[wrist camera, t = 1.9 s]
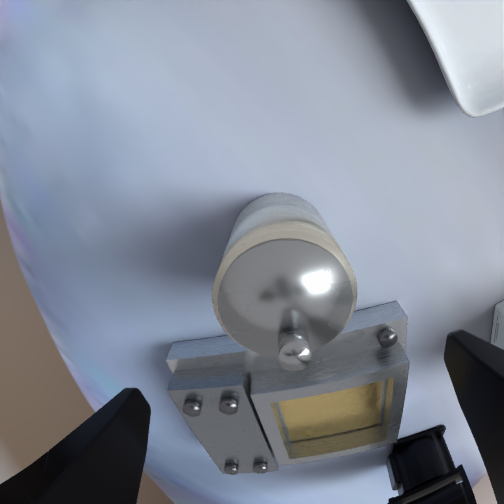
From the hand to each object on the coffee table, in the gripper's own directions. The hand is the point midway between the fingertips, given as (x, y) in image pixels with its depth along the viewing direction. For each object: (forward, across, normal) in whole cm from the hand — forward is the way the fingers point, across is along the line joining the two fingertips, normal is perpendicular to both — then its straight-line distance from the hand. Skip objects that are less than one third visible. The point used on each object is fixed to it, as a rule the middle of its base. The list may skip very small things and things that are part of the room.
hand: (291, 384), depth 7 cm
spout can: (+11, 0, 0) cm, 11 cm away
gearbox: (+11, +1, +13) cm, 17 cm away
